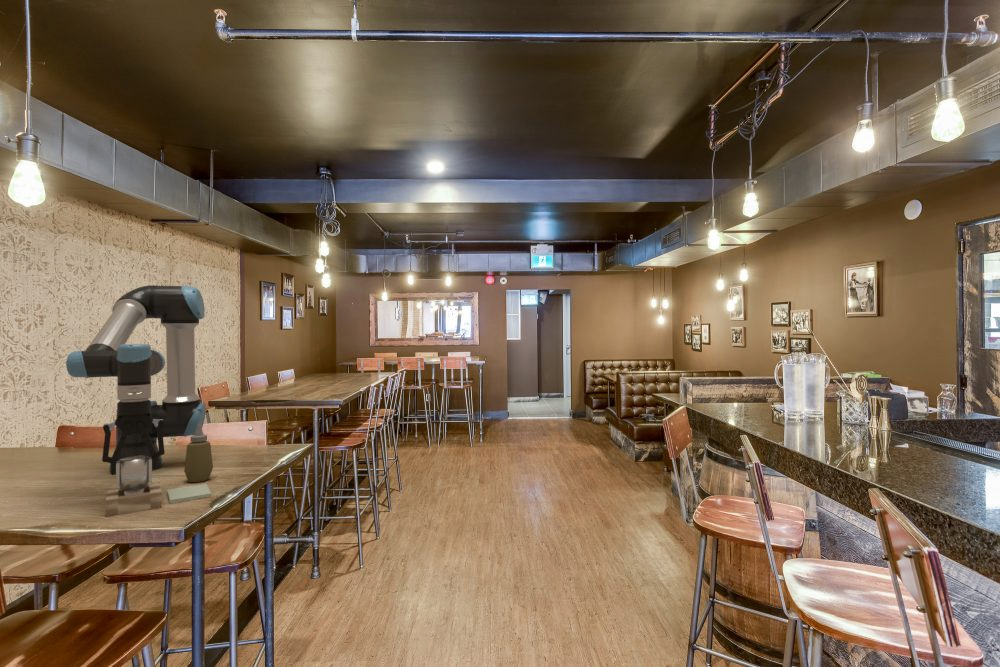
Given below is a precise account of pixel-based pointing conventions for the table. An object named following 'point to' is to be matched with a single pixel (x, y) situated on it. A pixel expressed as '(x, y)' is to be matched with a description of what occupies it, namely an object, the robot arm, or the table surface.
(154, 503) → the bore block
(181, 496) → the mat
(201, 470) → the squeeze bottle
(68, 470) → the table surface
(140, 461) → the metal cylinder
